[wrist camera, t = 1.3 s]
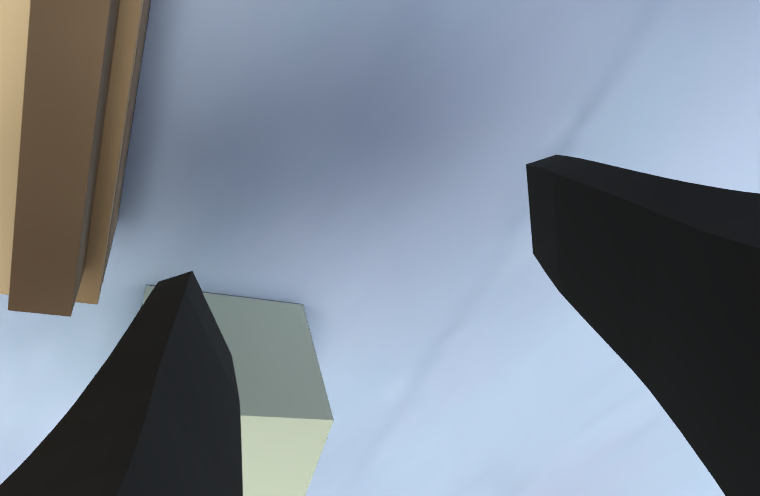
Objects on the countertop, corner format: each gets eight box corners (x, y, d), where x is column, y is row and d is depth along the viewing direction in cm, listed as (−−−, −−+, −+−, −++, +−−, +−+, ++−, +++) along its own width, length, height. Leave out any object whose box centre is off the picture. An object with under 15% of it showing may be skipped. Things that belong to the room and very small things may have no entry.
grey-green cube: (302, 304, 23) (333, 420, 18) (267, 414, 25) (286, 545, 20) (146, 285, 21) (130, 409, 16) (123, 407, 23) (103, 550, 18)
